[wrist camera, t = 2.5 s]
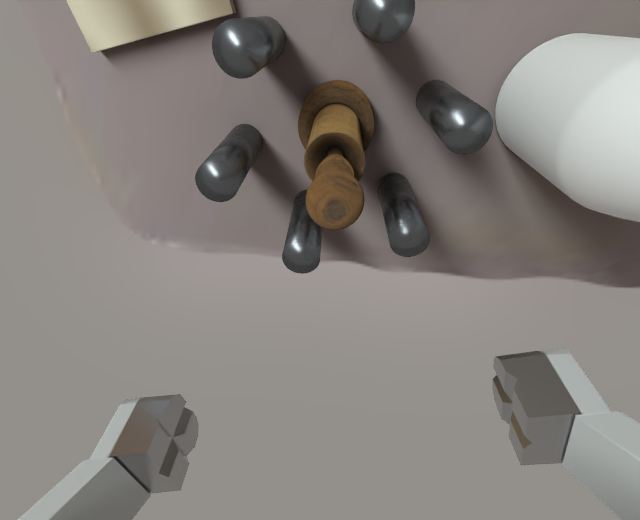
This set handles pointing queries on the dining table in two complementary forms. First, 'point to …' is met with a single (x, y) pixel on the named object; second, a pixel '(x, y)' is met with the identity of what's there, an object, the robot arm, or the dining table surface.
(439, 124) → the capsules
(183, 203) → the dining table surface
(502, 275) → the dining table surface
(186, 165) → the dining table surface
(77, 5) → the birch board
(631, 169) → the wine bottle
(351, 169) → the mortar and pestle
